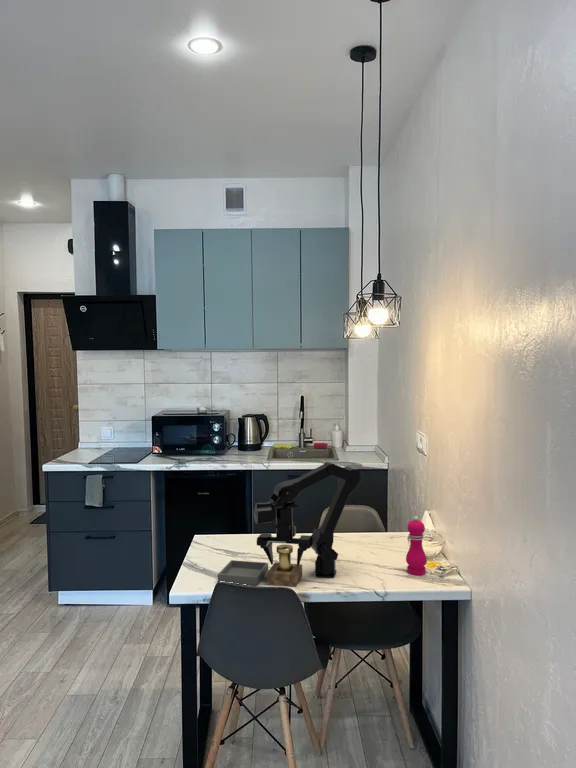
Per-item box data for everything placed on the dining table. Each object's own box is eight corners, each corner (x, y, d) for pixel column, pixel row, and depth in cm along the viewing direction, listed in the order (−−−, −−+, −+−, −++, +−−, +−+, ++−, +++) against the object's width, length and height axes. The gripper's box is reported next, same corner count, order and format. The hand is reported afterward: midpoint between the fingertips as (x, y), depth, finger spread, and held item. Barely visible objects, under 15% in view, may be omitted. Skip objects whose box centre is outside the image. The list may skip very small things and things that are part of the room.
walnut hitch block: (302, 575, 194) (302, 564, 194) (296, 586, 184) (296, 575, 184) (274, 573, 196) (274, 562, 196) (267, 584, 187) (267, 572, 186)
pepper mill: (424, 568, 199) (424, 513, 199) (429, 575, 192) (428, 518, 191) (404, 568, 199) (403, 513, 199) (408, 576, 192) (407, 519, 192)
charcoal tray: (268, 570, 199) (268, 562, 199) (257, 586, 185) (257, 577, 185) (231, 568, 202) (231, 560, 202) (217, 583, 189) (217, 574, 188)
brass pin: (294, 577, 192) (294, 544, 192) (291, 583, 187) (290, 550, 187) (279, 576, 194) (278, 544, 193) (275, 582, 188) (274, 549, 188)
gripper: (315, 515, 195) (316, 559, 196) (264, 513, 200) (265, 555, 200) (309, 524, 184) (310, 570, 185) (255, 521, 189) (256, 566, 189)
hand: (285, 565), depth 190 cm, fingers open, 9 cm apart
